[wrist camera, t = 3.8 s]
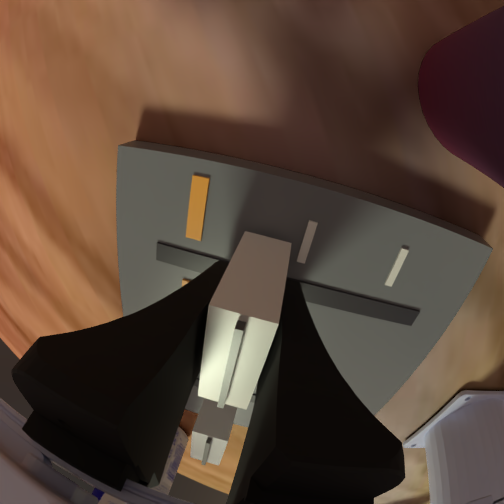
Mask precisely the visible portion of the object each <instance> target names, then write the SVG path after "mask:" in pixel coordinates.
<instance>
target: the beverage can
mask: <svg viewBox="0 0 504 504" xmlns="http://www.w3.org/2000/svg"><path fill="white" fill-rule="evenodd" d="M187 442H188V437H187V435H186V433H185V432H184V431H183V430H182V429H181V428H180V427H179V426H178V429H177V432H176V435H175V438H174V441H173V444H172V447H171V450H170V453H169V456H168V459H167V462H166V465H165V468H164V471H163V475H162V478H161V481H160V484H159V485H158V486H156V487H153V488H150V489H153V490H156V491H158V492H161V493H164V494H167V495H168V494H169V491H170V488H171V486H172V483H173V480H174V477H175V475H176V472H177V469H178V467H179V464H180V461H181V459H182V456H183V453H184V451H185V448H186V445H187ZM92 495H94V496H95V497H97V498H98V503H97V504H128V503H126V502H124V501H121V500H119V499H117V498H115V497H113V496H111V495H109V494H107V493H105V492H103V491H101V490H99V489H97V488H94V490H93V493H92Z"/></svg>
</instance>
